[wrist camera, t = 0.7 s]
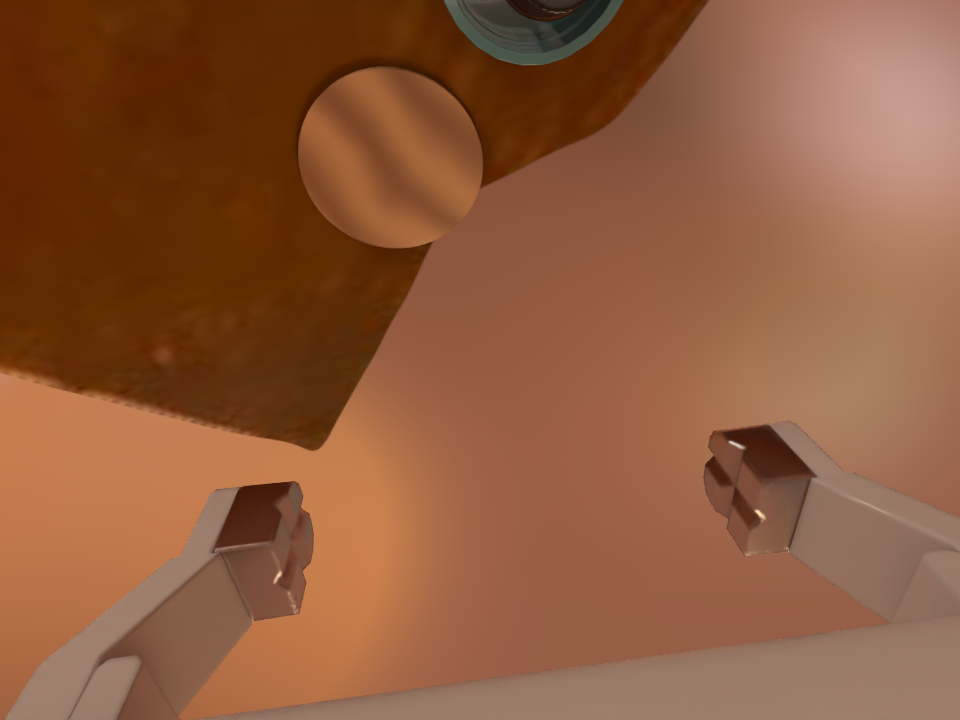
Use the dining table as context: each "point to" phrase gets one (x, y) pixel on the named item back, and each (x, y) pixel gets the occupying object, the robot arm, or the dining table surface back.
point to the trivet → (390, 157)
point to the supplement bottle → (545, 8)
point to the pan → (529, 29)
